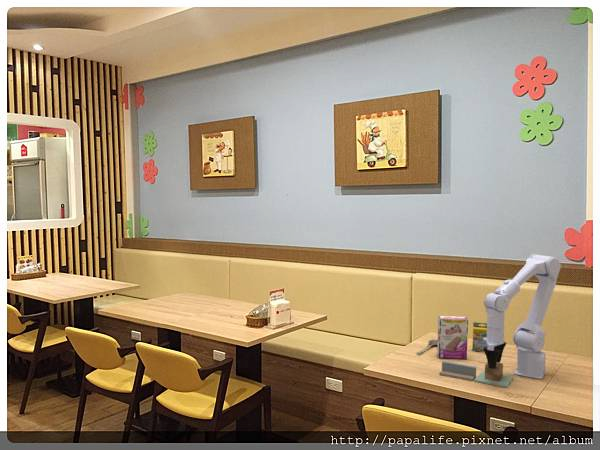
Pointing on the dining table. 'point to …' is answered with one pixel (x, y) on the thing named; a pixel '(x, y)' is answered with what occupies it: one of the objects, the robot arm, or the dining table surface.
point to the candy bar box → (452, 337)
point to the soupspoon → (432, 342)
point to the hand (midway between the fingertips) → (494, 365)
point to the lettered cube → (494, 372)
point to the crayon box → (479, 336)
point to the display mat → (503, 382)
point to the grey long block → (458, 371)
